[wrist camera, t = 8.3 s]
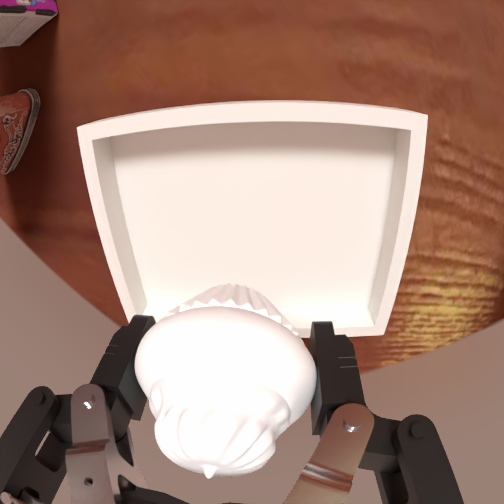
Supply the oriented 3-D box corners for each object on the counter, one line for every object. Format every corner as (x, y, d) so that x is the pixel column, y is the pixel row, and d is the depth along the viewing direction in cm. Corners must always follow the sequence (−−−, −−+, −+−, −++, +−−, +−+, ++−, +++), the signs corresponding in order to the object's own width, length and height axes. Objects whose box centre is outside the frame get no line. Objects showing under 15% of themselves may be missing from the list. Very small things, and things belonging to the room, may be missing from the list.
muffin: (135, 294, 12) (65, 436, 6) (250, 218, 10) (219, 413, 4) (225, 373, 15) (205, 502, 9) (335, 328, 13) (357, 484, 7)
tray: (406, 109, 16) (427, 115, 13) (375, 309, 24) (383, 334, 21) (101, 119, 17) (76, 127, 15) (143, 305, 25) (131, 329, 23)
